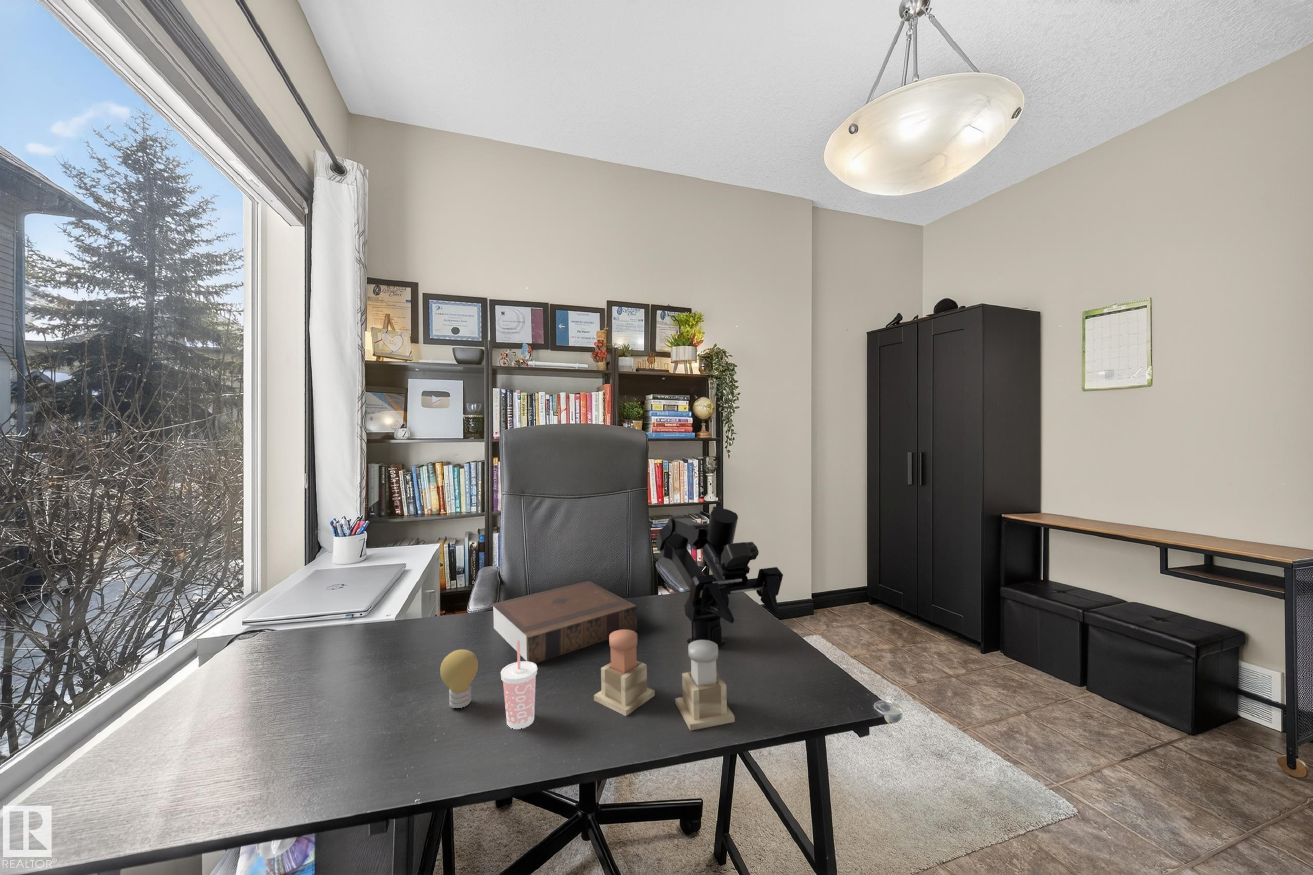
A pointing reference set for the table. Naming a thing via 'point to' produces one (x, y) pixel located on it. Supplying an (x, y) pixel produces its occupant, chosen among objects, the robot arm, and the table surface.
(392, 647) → the table surface
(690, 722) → the beige square socket
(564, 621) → the book
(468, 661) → the light bulb
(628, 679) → the cream square holder
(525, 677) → the beverage cup
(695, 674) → the light grey rounded piece
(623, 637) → the terracotta plunger
